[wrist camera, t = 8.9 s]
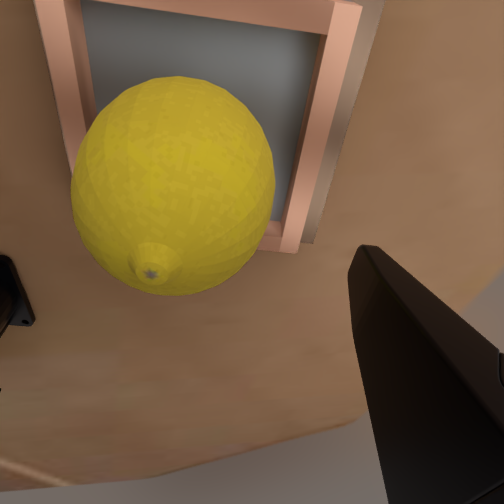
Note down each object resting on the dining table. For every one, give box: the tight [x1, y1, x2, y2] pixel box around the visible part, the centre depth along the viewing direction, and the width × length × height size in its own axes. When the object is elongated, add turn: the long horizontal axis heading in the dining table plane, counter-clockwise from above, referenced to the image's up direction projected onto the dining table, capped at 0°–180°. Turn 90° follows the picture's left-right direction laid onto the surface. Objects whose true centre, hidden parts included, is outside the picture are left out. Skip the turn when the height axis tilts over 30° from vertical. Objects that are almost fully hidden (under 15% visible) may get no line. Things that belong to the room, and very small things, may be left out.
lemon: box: [70, 76, 275, 296], centre depth 11 cm, size 6×6×8 cm
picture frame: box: [33, 0, 385, 254], centre depth 15 cm, size 12×12×5 cm
